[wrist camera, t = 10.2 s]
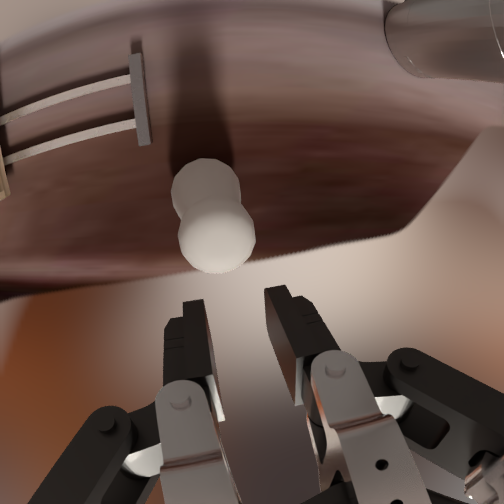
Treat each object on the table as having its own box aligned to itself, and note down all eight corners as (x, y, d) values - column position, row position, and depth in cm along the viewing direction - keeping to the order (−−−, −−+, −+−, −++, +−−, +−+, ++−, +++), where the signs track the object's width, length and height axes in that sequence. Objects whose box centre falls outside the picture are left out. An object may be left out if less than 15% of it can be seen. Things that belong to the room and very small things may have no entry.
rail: (142, 50, 21) (139, 46, 19) (153, 147, 25) (151, 150, 24) (-75, 140, 17) (-85, 143, 16) (-60, 212, 21) (-69, 218, 20)
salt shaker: (206, 227, 30) (221, 308, 18) (159, 189, 27) (141, 253, 16) (248, 182, 29) (293, 238, 17) (202, 140, 26) (216, 167, 15)
